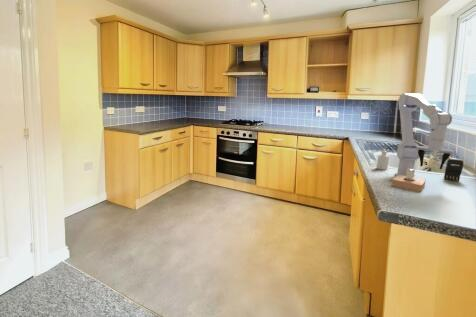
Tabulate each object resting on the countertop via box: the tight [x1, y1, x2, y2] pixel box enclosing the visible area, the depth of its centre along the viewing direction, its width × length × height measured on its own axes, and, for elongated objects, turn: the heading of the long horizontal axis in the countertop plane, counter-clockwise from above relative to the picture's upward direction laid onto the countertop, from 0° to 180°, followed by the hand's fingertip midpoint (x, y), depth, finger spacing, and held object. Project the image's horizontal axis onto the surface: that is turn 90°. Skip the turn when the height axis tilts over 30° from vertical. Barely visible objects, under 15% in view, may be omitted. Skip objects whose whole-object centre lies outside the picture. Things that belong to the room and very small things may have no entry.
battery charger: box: [443, 157, 465, 182], centre depth 147 cm, size 7×4×11 cm, turn 57°
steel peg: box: [406, 168, 415, 181], centre depth 135 cm, size 3×3×8 cm
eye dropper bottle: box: [375, 148, 390, 170], centre depth 164 cm, size 4×6×12 cm
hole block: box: [391, 175, 426, 192], centre depth 136 cm, size 12×12×3 cm
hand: (430, 167), depth 134 cm, fingers open, 7 cm apart
